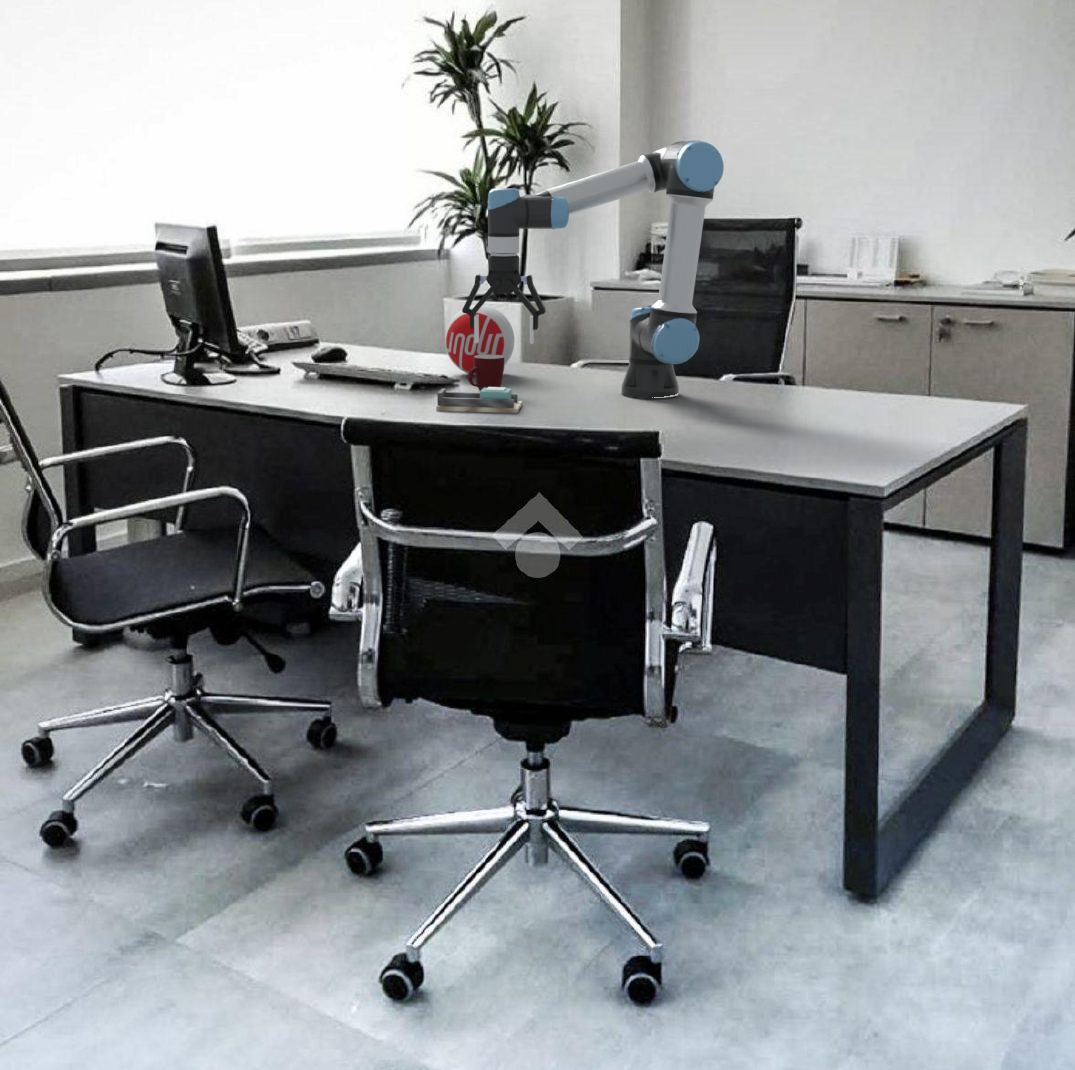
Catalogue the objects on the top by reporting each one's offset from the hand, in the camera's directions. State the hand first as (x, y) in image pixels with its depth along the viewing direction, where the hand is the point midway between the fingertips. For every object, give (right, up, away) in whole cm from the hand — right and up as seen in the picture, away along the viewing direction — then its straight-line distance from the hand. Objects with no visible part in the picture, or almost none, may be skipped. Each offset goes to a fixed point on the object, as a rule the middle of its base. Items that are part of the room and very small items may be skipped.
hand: (504, 342), depth 323 cm
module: (-2, -15, +4) cm, 15 cm away
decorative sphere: (-8, -1, +55) cm, 56 cm away
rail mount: (-6, -15, +5) cm, 17 cm away
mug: (-5, -11, +23) cm, 26 cm away
